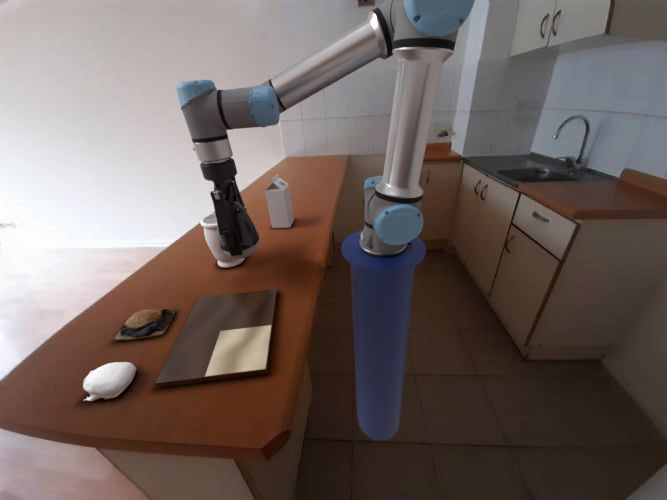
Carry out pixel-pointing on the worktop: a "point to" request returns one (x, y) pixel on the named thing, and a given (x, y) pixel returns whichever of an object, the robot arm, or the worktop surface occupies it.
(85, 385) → the garlic
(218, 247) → the jar
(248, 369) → the cutting board
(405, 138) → the robot arm
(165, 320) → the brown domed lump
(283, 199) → the milk carton
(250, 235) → the black egg-shaped ornament
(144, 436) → the worktop surface
